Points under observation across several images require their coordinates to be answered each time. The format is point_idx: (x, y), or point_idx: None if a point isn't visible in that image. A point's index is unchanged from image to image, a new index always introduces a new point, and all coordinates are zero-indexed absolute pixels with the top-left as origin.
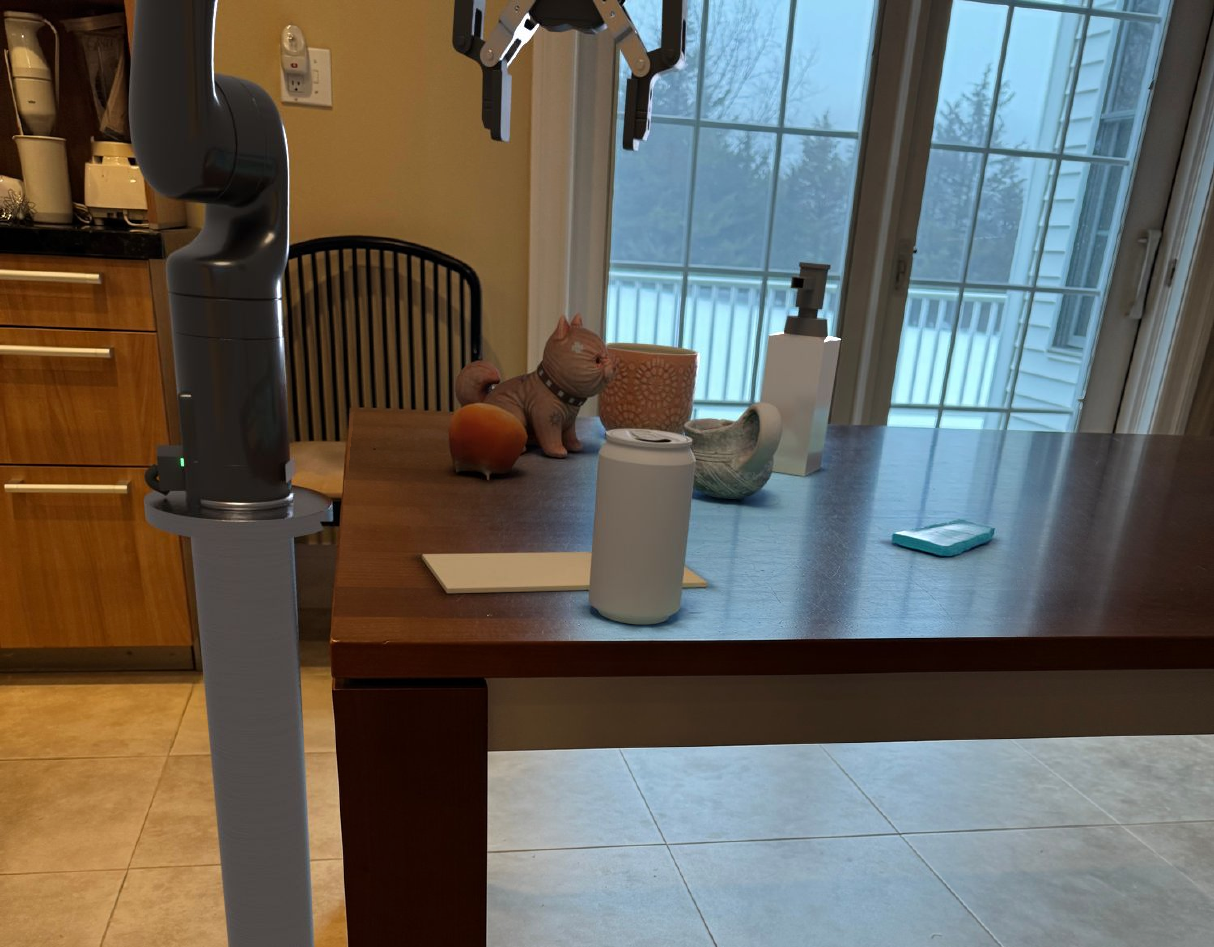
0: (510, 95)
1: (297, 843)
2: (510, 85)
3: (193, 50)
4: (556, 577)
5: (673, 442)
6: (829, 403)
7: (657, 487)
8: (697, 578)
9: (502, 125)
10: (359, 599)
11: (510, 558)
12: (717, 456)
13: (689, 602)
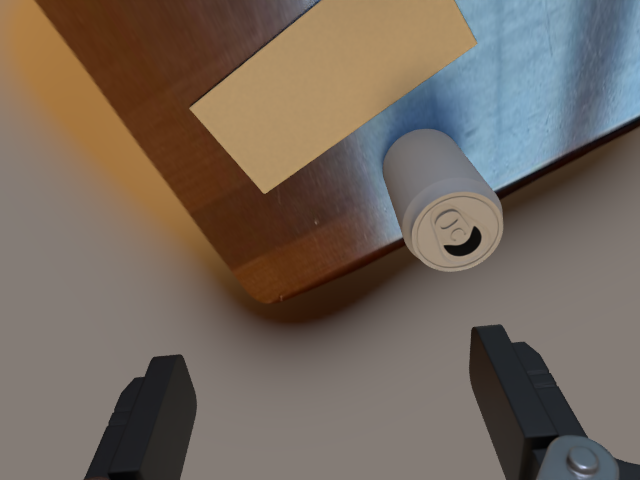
0: (156, 429)
1: None
2: (150, 452)
3: None
4: (334, 114)
5: (484, 241)
6: None
7: (464, 249)
8: (466, 34)
9: (188, 414)
10: (215, 235)
11: (269, 72)
12: None
13: (463, 104)
